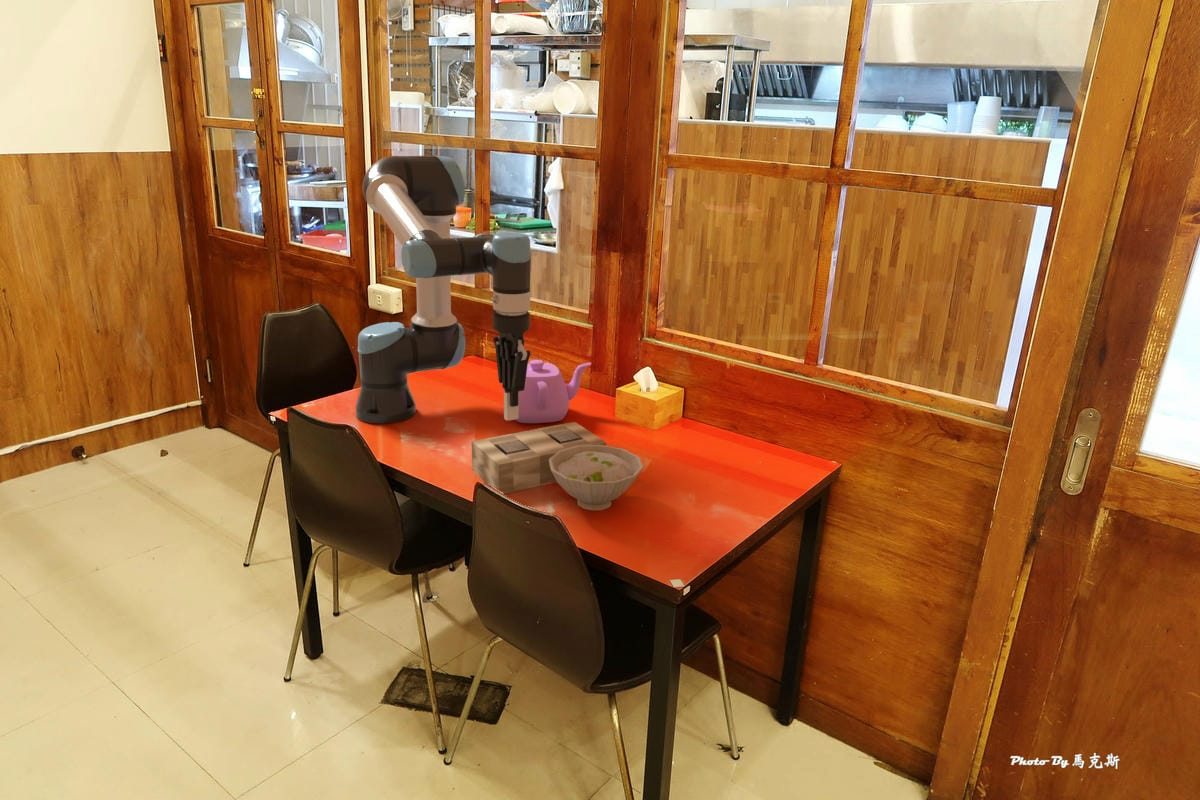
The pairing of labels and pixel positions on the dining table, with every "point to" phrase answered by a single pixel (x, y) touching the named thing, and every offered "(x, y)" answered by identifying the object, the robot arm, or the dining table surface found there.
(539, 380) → the teapot
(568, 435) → the far peg
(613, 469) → the bowl
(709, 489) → the dining table surface
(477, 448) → the socket block
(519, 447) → the near peg
